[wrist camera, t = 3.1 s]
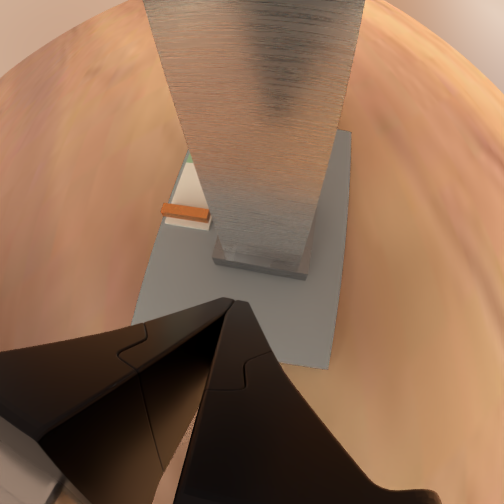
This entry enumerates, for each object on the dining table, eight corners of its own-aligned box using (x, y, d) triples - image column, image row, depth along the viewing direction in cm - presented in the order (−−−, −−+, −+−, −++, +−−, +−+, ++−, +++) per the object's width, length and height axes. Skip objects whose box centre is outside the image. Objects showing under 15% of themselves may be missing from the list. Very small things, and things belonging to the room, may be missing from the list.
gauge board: (324, 369, 16) (343, 369, 12) (137, 329, 17) (102, 316, 13) (349, 116, 23) (359, 75, 18) (215, 99, 24) (207, 58, 20)
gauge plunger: (305, 280, 17) (408, -20, 3) (154, 253, 18) (-14, 26, 4) (316, 201, 19) (371, -65, 4) (179, 180, 20) (91, -49, 5)
